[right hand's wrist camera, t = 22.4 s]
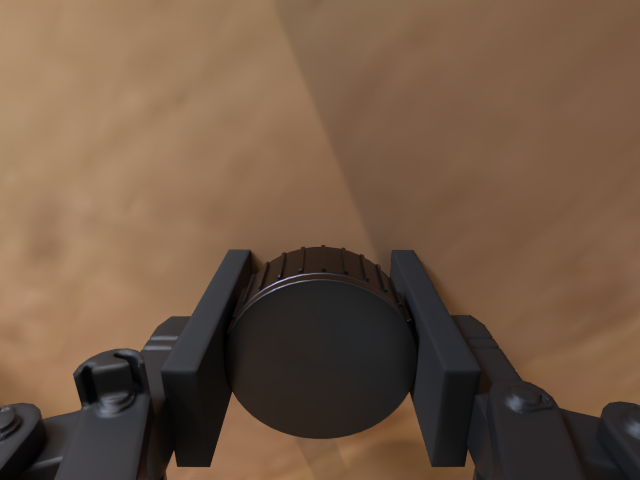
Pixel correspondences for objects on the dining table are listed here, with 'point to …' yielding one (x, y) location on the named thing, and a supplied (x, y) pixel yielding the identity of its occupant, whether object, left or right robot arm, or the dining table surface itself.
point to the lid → (320, 344)
